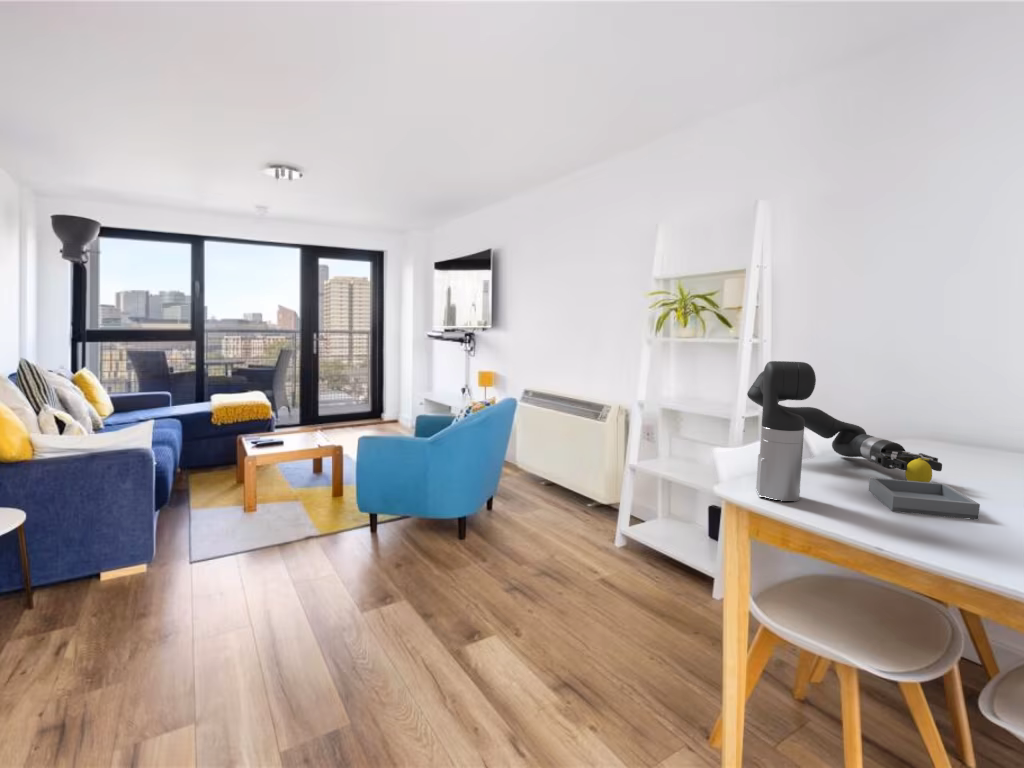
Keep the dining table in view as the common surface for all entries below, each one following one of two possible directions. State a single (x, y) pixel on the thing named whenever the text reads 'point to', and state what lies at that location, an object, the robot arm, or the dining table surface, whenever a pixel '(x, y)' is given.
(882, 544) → the dining table surface
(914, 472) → the lemon
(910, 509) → the tray
